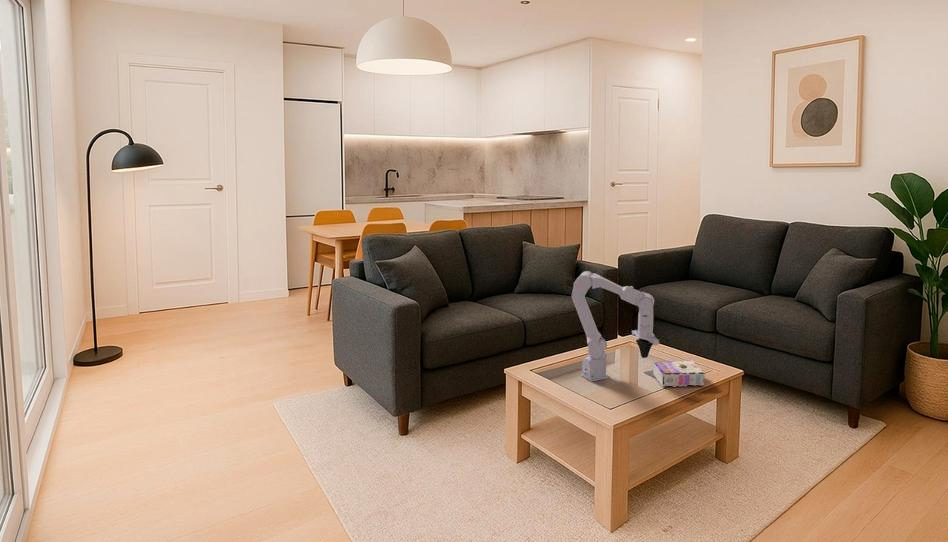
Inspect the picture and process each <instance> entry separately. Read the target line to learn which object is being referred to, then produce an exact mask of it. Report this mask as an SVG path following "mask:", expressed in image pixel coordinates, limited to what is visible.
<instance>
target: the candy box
mask: <svg viewBox="0 0 948 542" xmlns="http://www.w3.org/2000/svg"><path fill="white" fill-rule="evenodd" d="M652 366H653V367H652V370H653V375H654V376H655V377H656V380H657V381H658V383H659V384H660V385H661V387H663V388H665V387H666V388H667V387H668V386H679V387H688V386H687V385H704V386H705V381H704V380H705V374H706V373H705V372H704V371H703V370H702V369H701V368H700V367H699V366H698V365H697V364H696V363H695V362H694V360H675V361H674V360H673V361H654V362H653V363H652ZM668 388H669V387H668Z"/></svg>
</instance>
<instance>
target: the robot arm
mask: <svg viewBox="0 0 948 542" xmlns="http://www.w3.org/2000/svg"><path fill="white" fill-rule="evenodd" d="M591 288H592V290H593V289H597V288H601V289H604V290H607V291H610V292H612V293H614V294H617V295H618V296H619V297H620V299H621V300H622V301H625V302H627V303H628V304H632V305H634V306H637V307H638V316H637V317H638V318H637V329H634V330H631V336H632V337H634V336H635V337H637V338H638V339H636V340H635V342H636V344H637V346H638V349H639V352H640V357H641V358H642V359H647V358H648V356H649V353H650V351H651V349H652V347H653V345H654V346H659V345H660V339H658V338H657V337H656V336H655V334H654V333H653V332H654V331H653V330H654V306H655V305H654V304H655V298H654V297H653V295H651V294H650V293H648V292H645V291H640V290H637V289H635V288H634V286H632V285H630V286H628V285H626V286H621V285H619V284H618V283H615V282H613V281H611V280H609V279H607V278H605V277H603V276H601V275H599V274H598V273H593V272H591V271H590V270H586V271H585V270H584V271H583V272H581V274H579V276H578V277H577V278H576V279H575V280H574V282H573V287H572V292H571V300H572V302H573V305H574V307H575V309H576V313H577V316H578V317H579V320H580V323H581V325H582V328H583V330H584V333H585V336H586V344H587V346H588V347H587V348H588V350H587V353H588V355H587V357H584V358H583V359H582V360H581V374H580V376H581V377H583V378H584V379H586V380H588V381H589V382H596V381H601V380H607V379H610V378H611V376H610V375H608V374H607V354H606V352H605V351H606V349H607V347H608V343H607V341H606V339H604V338H603V337H602V334H601V333H600V331H599V330H598V327H597V325H596V322H595V320H594V317H593V315H592V312H591V310H590V307H589V304H588V302H587V299H586V297H585V296H586V294H587V293H588V291H589V289H591Z"/></svg>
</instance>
